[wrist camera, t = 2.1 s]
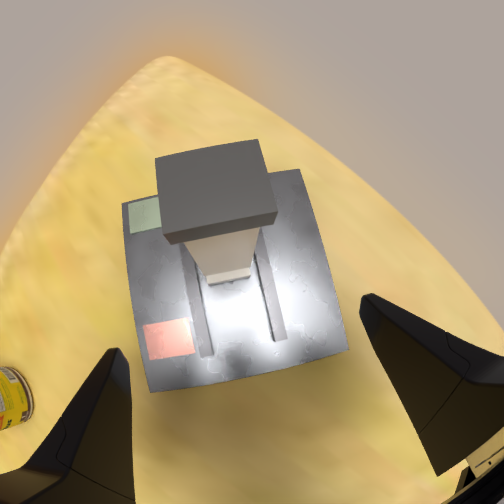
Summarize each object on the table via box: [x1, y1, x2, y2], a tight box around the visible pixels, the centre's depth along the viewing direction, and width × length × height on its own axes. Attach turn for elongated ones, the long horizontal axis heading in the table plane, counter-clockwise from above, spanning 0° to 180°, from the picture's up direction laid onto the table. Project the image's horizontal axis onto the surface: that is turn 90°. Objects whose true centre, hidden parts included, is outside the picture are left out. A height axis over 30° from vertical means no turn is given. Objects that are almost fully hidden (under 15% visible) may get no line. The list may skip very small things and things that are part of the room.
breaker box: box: [122, 169, 349, 393], centre depth 20 cm, size 14×14×3 cm
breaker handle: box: [155, 139, 278, 285], centre depth 14 cm, size 3×4×11 cm
